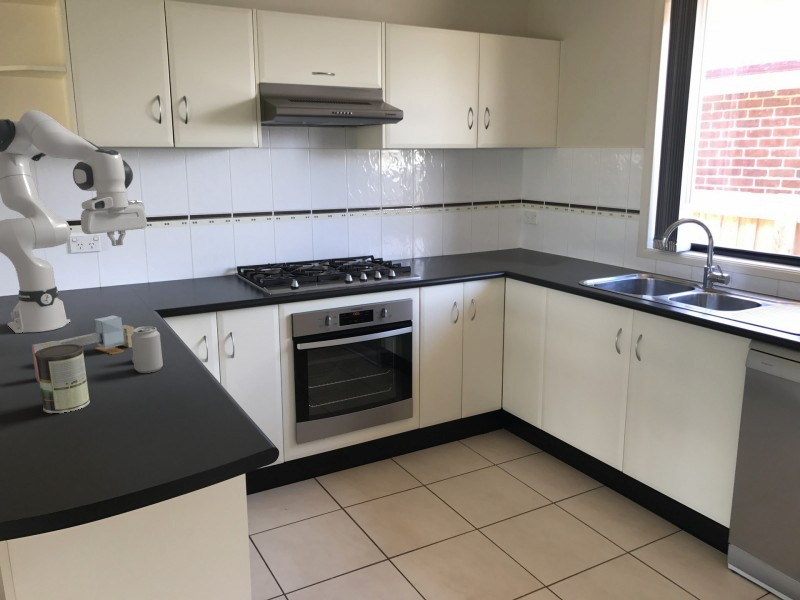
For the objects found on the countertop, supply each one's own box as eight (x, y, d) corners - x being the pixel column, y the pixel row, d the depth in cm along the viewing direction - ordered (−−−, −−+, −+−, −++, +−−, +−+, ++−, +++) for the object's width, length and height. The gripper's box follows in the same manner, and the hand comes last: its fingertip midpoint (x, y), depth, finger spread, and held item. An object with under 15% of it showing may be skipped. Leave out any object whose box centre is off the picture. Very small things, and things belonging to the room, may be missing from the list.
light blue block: (97, 345, 206) (93, 319, 204) (115, 341, 210) (112, 315, 208) (105, 348, 202) (102, 321, 200) (124, 344, 207) (121, 317, 205)
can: (134, 367, 189) (129, 327, 186) (162, 364, 191) (158, 324, 189) (135, 375, 182) (130, 333, 179) (164, 371, 185) (159, 330, 182)
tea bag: (36, 378, 181) (31, 343, 179) (63, 373, 185) (58, 339, 183) (37, 382, 178) (32, 346, 176) (65, 377, 182) (60, 342, 180)
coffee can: (34, 414, 156) (25, 356, 153) (57, 398, 166) (49, 344, 163) (77, 413, 156) (69, 356, 152) (97, 397, 166) (91, 343, 162)
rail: (44, 361, 196) (41, 341, 195) (123, 342, 215) (121, 323, 214) (59, 367, 190) (57, 346, 189) (140, 347, 209) (138, 328, 207)
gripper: (138, 199, 218) (142, 241, 221) (76, 203, 203) (81, 248, 206) (148, 199, 214) (152, 242, 217) (85, 204, 199) (91, 250, 202)
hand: (117, 245), depth 211 cm, fingers closed
